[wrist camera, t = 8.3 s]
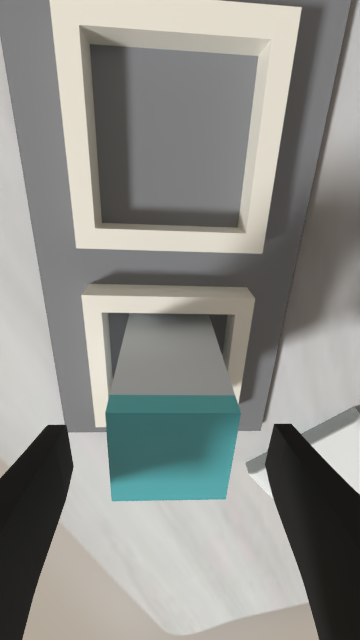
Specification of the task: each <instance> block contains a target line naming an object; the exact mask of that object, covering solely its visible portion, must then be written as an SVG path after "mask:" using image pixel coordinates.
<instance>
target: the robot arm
mask: <svg viewBox="0 0 360 640" xmlns="http://www.w3.org/2000/svg"><path fill="white" fill-rule="evenodd" d="M265 467H266V471H267V476H268V480H269V484H270V488H271V492H272V496H273V498H274V501H275V504H276V507H277V510H278V512H279V515H280V518H281V521H282V524H283V526H284V529H285V532H286V535H287V537H288V540H289V543H290V545H291V548H292V551H293V554H294V556H295V559H296V562H297V565H298V567H299V570H300V573H301V576H302V579H303V583H304V586H305V589H306V593H307V596H308V600H309V603H310V606H311V610H312V614H313V618H314V621H315V625H316V629H317V632H318V636H319V640H360V494H359V493H358V492H356V491H355V490H354V489H353V488H352V487H351V486H350V485H349V484H348V483H347V482H346V481H345V480H344V479H343V478H342V477H341V476H340V475H339V474H338V473H337V472H336V471H335V470H334V469H333V468H332V467H331V466H330V465H329V464H328V463H327V462H326V461H325V459H324V458H323V457H322V456H321V455H320V454H319V453H318V452H317V451H316V450H315V449H314V448H313V447H312V446H311V445H310V444H309V442H308V441H307V440H306V439H305V438H304V437H303V436H302V435H301V434H300V433H299V432H298V431H297V430H296V428H295V427H294V426H293V425H292V424H274V427H273V432H272V436H271V440H270V444H269V449H268V453H267V457H266V461H265ZM72 471H73V461H72V455H71V449H70V443H69V437H68V431H67V425H48V426H46V427H45V428H44V430H43V431H42V432H41V433H40V434H39V435H38V437H37V438H36V439H35V440H34V441H33V442H32V444H31V445H30V446H29V447H28V448H27V449H26V450H25V452H24V453H23V454H22V455H21V456H20V457H19V458H18V459H17V461H16V462H15V463H14V464H13V465H12V466H11V467H10V468H9V469H8V471H7V472H6V473H5V474H4V475H3V476H2V477H1V478H0V640H22V638H23V634H24V630H25V626H26V622H27V619H28V614H29V611H30V607H31V603H32V599H33V595H34V593H35V589H36V586H37V583H38V579H39V576H40V573H41V571H42V568H43V565H44V562H45V559H46V556H47V553H48V550H49V547H50V544H51V541H52V539H53V536H54V533H55V530H56V527H57V524H58V521H59V518H60V515H61V512H62V509H63V506H64V503H65V500H66V497H67V493H68V489H69V484H70V480H71V475H72Z"/></svg>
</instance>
